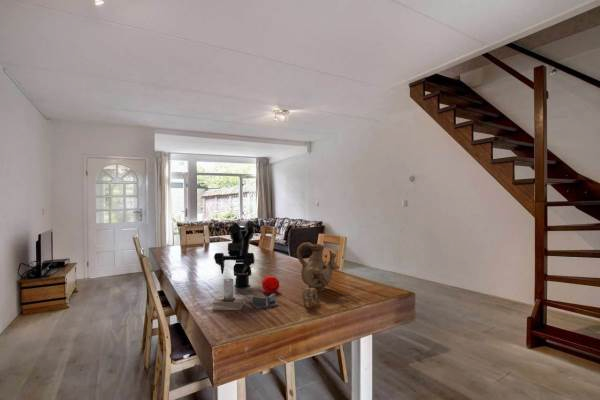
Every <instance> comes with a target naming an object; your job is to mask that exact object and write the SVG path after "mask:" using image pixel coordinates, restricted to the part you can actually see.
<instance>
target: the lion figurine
mask: <svg viewBox="0 0 600 400" xmlns="http://www.w3.org/2000/svg"><path fill="white" fill-rule="evenodd" d="M301 297H302V298H301V299H302V300H303V306H302V308H306V307H307V303H308V307H309V308H312V298H313V297H314V298H313V299H314V300H315V302H317V303H319V296H318V292H317V291H316V289H315V288H311V289H310V288H309V287H305V288H303V290H302V293H301ZM305 306H306V307H305Z"/></svg>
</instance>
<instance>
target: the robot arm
mask: <svg viewBox="0 0 600 400" xmlns="http://www.w3.org/2000/svg"><path fill="white" fill-rule="evenodd" d="M228 232H229V236H230V240H231V242H228V243H227V251H228V252H227V253H228V254H227V255H225V253H224V252H216V253H215V254H214V256H213V259H214V262H215V264H217V266H220V272H221V273H220V274H221V275H223V274H224V271H225V265H226V264H225V261H235V263H234V264H233V276H234V277H235V284H234V287H236V288H237V289H245V288H249V287H251V286H252V285H251V284H250V281H249V279H250V276H252V267H251V265H254V264H255V259H256V258H255V253H253V252H249V248H250V244H251V243H250V241H251V240H252V239H253V238H254V234H255V232H256V228H255V225H254V224H253V223H252V222H251V221H250V220H249V219H242V220H240V223H237V222H236V223H235V222H234V223H233V224H232V225H231V226H229V227H228Z"/></svg>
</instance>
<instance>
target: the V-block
mask: <svg viewBox="0 0 600 400" xmlns="http://www.w3.org/2000/svg"><path fill="white" fill-rule="evenodd" d="M249 303H250V304H251V306H253V307H254V308H255V309H256V310H258V309H259V310H260V309H265V308H272V306H273V307H278V306H279V302H277V301H276V293H270V295H269V296H267V297H265V296H264V297H263V296H255V295H253V296H252V299H251V300H249Z"/></svg>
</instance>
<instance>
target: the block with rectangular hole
mask: <svg viewBox="0 0 600 400" xmlns="http://www.w3.org/2000/svg"><path fill="white" fill-rule="evenodd" d="M244 300H245V298H244V297H243V296H240V297H239V296H236V297H235V296H233V302H224V296H223V297H221V296H218V297H216V299H214V300H213V302H212V310H213V311H214V310H215V311H219V310H220V311H223V310H225V311H228V310H229V311H233V310H234V311H235V310H236V311H240V310H242V308H243V306H244V304H245V301H244Z"/></svg>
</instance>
